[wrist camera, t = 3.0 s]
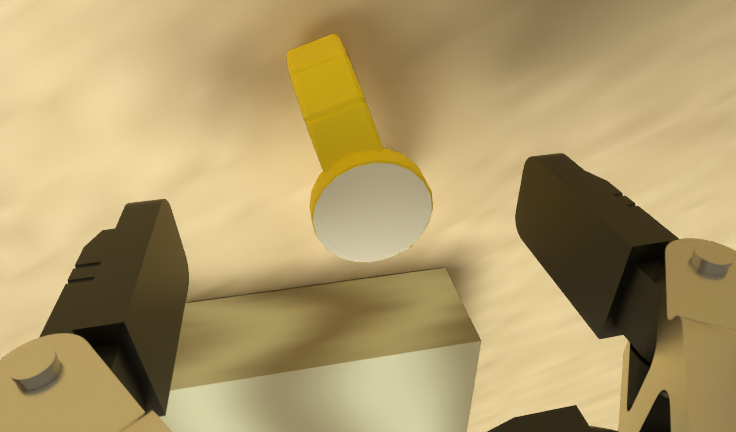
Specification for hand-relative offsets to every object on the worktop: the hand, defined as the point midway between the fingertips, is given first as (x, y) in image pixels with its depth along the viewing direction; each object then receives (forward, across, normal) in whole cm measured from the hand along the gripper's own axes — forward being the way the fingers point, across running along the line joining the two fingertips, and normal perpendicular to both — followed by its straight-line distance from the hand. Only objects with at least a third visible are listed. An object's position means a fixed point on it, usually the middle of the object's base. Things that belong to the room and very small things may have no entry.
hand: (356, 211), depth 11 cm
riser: (+6, +2, +13) cm, 14 cm away
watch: (+6, 0, 0) cm, 6 cm away
